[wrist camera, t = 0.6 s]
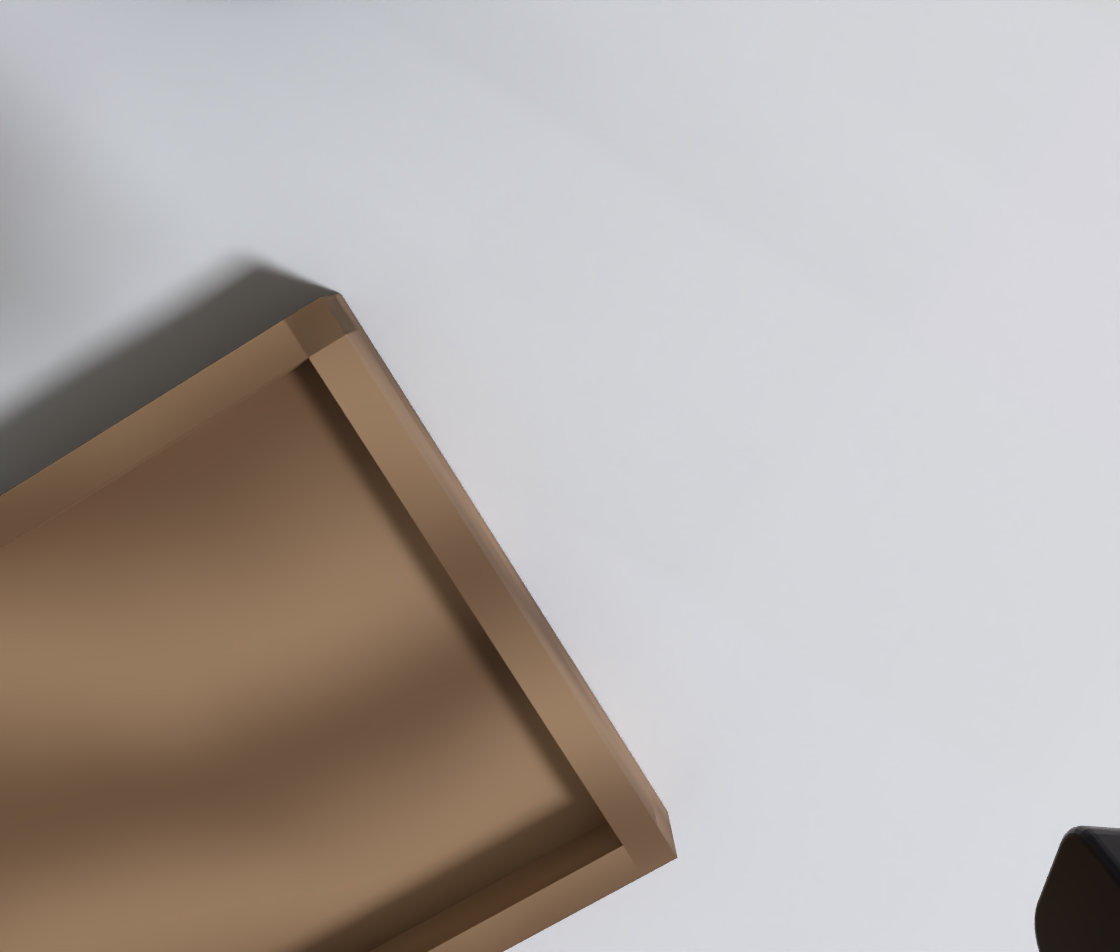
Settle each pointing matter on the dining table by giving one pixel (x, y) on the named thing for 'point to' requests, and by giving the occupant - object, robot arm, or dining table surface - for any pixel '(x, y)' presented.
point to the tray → (290, 685)
